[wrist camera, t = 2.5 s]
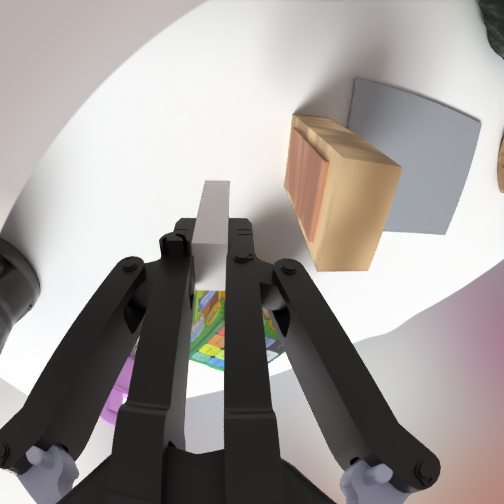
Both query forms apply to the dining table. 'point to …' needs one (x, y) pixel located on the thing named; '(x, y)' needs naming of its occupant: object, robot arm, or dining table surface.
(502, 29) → the squash
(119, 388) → the toy chair
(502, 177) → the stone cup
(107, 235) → the dining table surface
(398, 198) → the mat
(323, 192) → the oak slab
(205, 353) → the chalk box
